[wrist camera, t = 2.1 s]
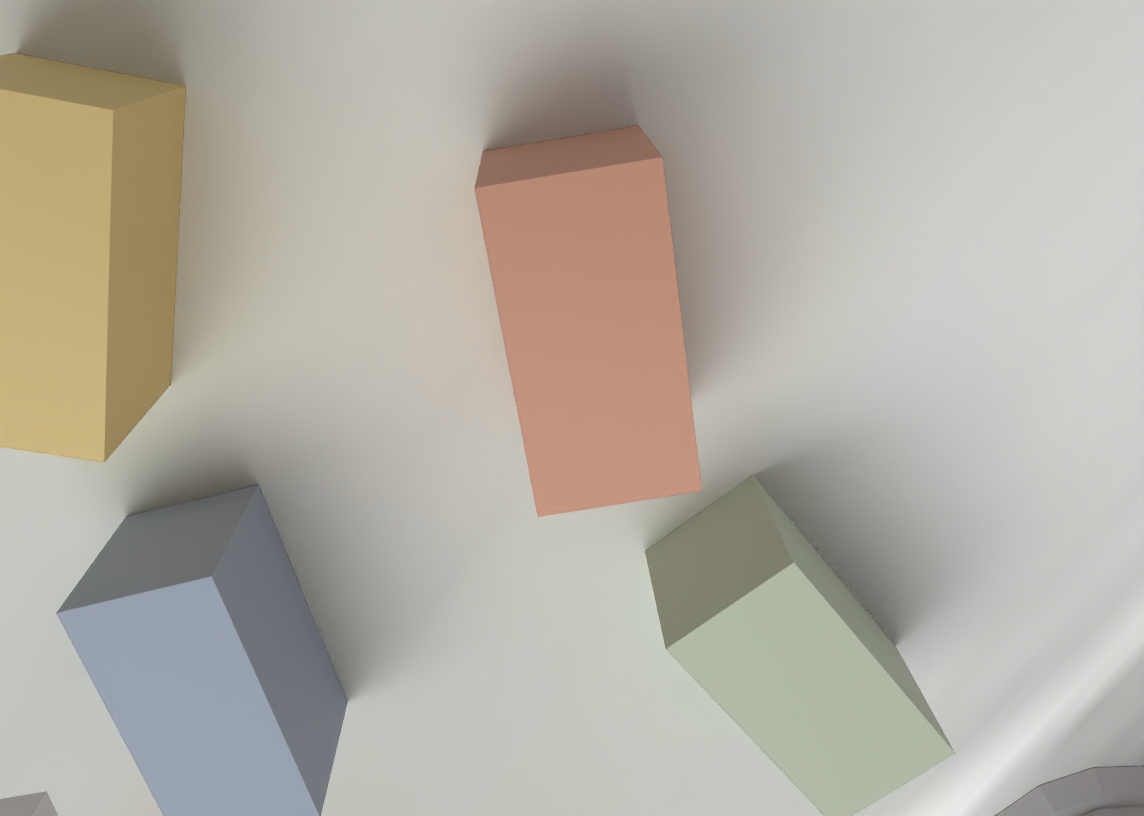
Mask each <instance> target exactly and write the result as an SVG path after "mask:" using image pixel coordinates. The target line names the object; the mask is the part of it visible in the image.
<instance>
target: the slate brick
mask: <svg viewBox="0 0 1144 816" xmlns="http://www.w3.org/2000/svg"><path fill="white" fill-rule="evenodd" d="M57 615H58V617H59V619H60V621H61V623H62V625H63V627H64V629H65V630H66V632H67V634H68V636H69V638H70V640H71V642H72V644H73V646H74V647H75V649H76V651H77V653H78V655H79V657H80V659H81V661H82V663H83V664H84V666H85V668H86V670H87V672H88V674H89V676H90V678H91V680H92V681H93V683H94V685H95V687H96V689H97V691H98V693H99V695H100V697H101V698H102V700H103V702H104V704H105V706H106V708H107V710H108V712H109V714H110V715H111V717H112V719H113V721H114V723H115V725H116V727H117V729H118V731H119V732H120V734H121V736H122V738H123V740H124V742H125V744H126V746H127V748H128V749H129V751H130V753H131V755H132V757H133V759H134V761H135V763H136V765H137V766H138V768H139V770H140V772H141V774H142V776H143V778H144V780H145V782H146V783H147V785H148V787H149V789H150V791H151V793H152V795H153V797H154V799H155V800H156V802H157V804H158V806H159V808H160V810H161V812H162V814H163V816H321V812H322V808H323V804H324V799H325V795H326V791H327V787H328V783H329V778H330V774H331V770H332V766H333V761H334V757H335V753H336V749H337V744H338V740H339V736H340V732H341V728H342V723H343V719H344V715H345V711H346V706H347V702H348V701H347V699H346V696H345V694H344V692H343V689H342V687H341V684H340V682H339V679H338V677H337V675H336V672H335V670H334V667H333V665H332V662H331V660H330V657H329V655H328V653H327V650H326V648H325V645H324V643H323V640H322V638H321V635H320V633H319V631H318V628H317V626H316V623H315V621H314V618H313V616H312V614H311V611H310V609H309V606H308V604H307V601H306V599H305V596H304V594H303V592H302V589H301V587H300V584H299V582H298V579H297V577H296V574H295V572H294V570H293V567H292V565H291V562H290V560H289V557H288V555H287V553H286V550H285V548H284V545H283V543H282V540H281V538H280V535H279V533H278V531H277V528H276V526H275V523H274V521H273V518H272V516H271V513H270V511H269V509H268V506H267V504H266V501H265V499H264V496H263V494H262V492H261V489H260V487H259V485H254V486H250V487H246V488H242V489H238V490H234V491H230V492H225V493H221V494H217V495H213V496H209V497H205V498H200V499H196V500H192V501H188V502H184V503H180V504H175V505H171V506H167V507H163V508H159V509H155V510H150V511H146V512H142V513H138V514H134V515H130V516H126V518H125V519H124V520H123V522H122V523H121V524H120V526H119V527H118V529H117V530H116V531H115V533H114V534H113V535H112V537H111V538H110V540H109V541H108V542H107V544H106V545H105V547H104V548H103V549H102V551H101V552H100V553H99V555H98V556H97V558H96V559H95V560H94V562H93V563H92V564H91V566H90V567H89V569H88V570H87V571H86V573H85V574H84V576H83V577H82V578H81V580H80V581H79V582H78V584H77V585H76V587H75V588H74V589H73V591H72V592H71V593H70V595H69V596H68V598H67V599H66V600H65V602H64V603H63V605H62V606H61V607H60V609H59V610H58V611H57Z"/></svg>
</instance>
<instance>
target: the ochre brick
mask: <svg viewBox="0 0 1144 816" xmlns="http://www.w3.org/2000/svg"><path fill="white" fill-rule="evenodd" d="M185 99H186V86H183V85H178V84H173V83H168V82H163V81H157V80H152V79H147V78H142V77H137V76H132V75H126V74H121V73H116V72H111V71H106V70H100V69H95V68H90V67H85V66H80V65H75V64H69V63H64V62H59V61H54V60H49V59H44V58H38V57H33V56H28V55H23V54H18V53H14V54H8V55H1V56H0V447H4V448H11V449H17V450H24V451H31V452H37V453H44V454H51V455H57V456H64V457H71V458H77V459H84V460H91V461H97V462H105V461H106V460H107V459H108V457H109V456H110V455H111V454H112V453H113V452H114V450H115V449H116V448H117V447H118V446H119V445H120V443H121V442H122V441H123V440H124V439H125V438H126V436H127V435H128V434H129V433H130V432H131V431H132V429H133V428H134V427H135V426H136V425H137V423H138V422H139V421H140V420H141V419H142V418H143V416H144V415H145V414H146V413H147V412H148V411H149V409H150V408H151V407H152V406H153V405H154V404H155V402H156V401H157V400H158V399H159V398H160V397H161V395H162V394H163V393H164V392H165V391H166V390H167V388H168V387H169V386H170V385H171V370H172V351H173V332H174V312H175V293H176V273H177V254H178V235H179V215H180V196H181V176H182V157H183V137H184V118H185Z"/></svg>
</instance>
